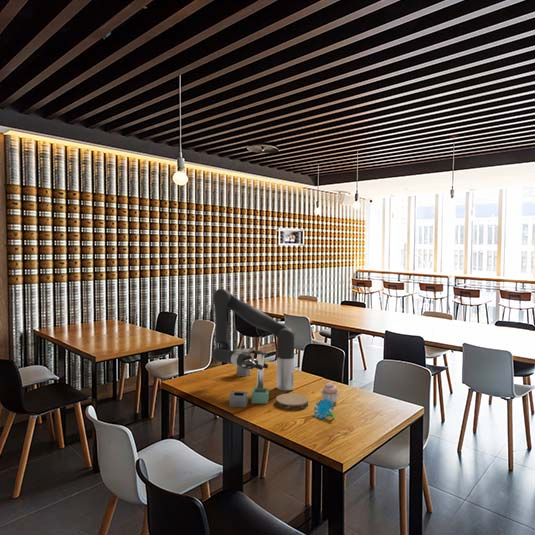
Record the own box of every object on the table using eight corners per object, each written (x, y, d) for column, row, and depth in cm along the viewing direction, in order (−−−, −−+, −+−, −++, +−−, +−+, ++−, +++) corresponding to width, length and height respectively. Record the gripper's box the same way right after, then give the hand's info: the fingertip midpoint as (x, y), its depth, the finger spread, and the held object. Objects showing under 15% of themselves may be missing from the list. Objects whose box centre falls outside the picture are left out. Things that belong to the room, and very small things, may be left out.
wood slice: (276, 410, 195) (276, 404, 195) (275, 398, 211) (275, 393, 211) (309, 411, 195) (309, 405, 195) (306, 399, 211) (306, 393, 211)
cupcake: (339, 399, 211) (340, 380, 211) (338, 405, 202) (338, 385, 202) (321, 397, 214) (322, 378, 213) (319, 403, 205) (319, 383, 204)
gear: (308, 410, 190) (322, 394, 193) (314, 417, 193) (328, 400, 196) (324, 422, 181) (338, 404, 184) (330, 429, 184) (344, 411, 187)
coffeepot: (230, 375, 249) (230, 345, 249) (236, 371, 258) (237, 342, 258) (253, 378, 244) (254, 348, 243) (259, 374, 253) (260, 345, 252)
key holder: (268, 398, 211) (268, 388, 211) (267, 403, 203) (267, 393, 203) (253, 397, 212) (253, 387, 211) (251, 402, 204) (251, 392, 203)
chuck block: (247, 401, 205) (248, 391, 205) (245, 407, 197) (246, 397, 197) (231, 400, 206) (232, 391, 206) (229, 406, 198) (229, 396, 198)
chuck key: (252, 386, 209) (253, 350, 208) (256, 384, 211) (257, 349, 210) (263, 390, 203) (264, 353, 203) (267, 388, 206) (269, 352, 205)
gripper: (231, 355, 211) (255, 361, 200) (251, 351, 222) (274, 357, 210) (231, 369, 212) (254, 377, 200) (250, 364, 222) (274, 371, 210)
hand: (264, 367), depth 205 cm, fingers closed on chuck key, 3 cm apart
